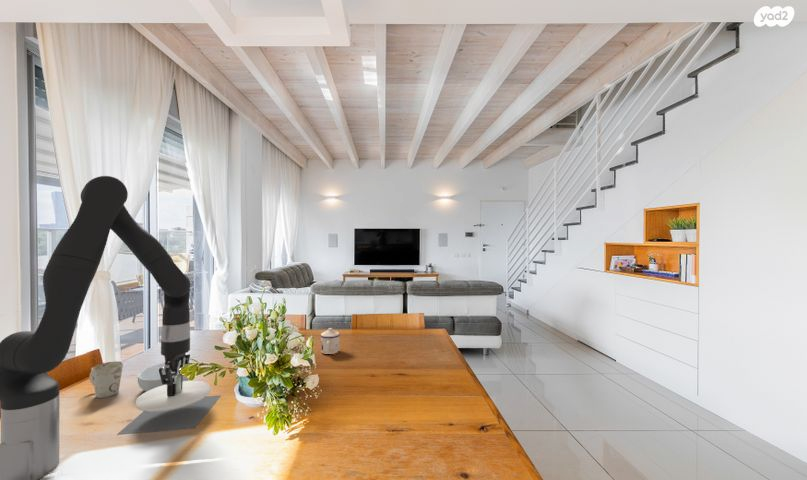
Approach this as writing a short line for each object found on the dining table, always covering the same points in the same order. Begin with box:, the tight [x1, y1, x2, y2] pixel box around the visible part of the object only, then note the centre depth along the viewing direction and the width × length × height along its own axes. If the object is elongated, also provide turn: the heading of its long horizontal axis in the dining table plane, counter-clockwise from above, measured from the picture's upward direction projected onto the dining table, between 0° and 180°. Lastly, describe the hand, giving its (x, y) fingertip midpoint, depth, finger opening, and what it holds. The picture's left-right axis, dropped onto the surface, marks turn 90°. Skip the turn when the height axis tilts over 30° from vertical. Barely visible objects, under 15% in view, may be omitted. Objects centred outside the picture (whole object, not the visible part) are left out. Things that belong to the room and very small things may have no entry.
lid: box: [135, 375, 211, 412], centre depth 104 cm, size 19×19×6 cm
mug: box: [88, 360, 124, 399], centre depth 118 cm, size 8×13×10 cm, turn 78°
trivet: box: [116, 395, 221, 435], centre depth 105 cm, size 20×20×1 cm
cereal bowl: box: [137, 361, 194, 392], centre depth 122 cm, size 17×17×7 cm
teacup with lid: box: [320, 327, 341, 354], centre depth 160 cm, size 12×9×12 cm
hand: (174, 392), depth 104 cm, fingers closed on lid, 3 cm apart
